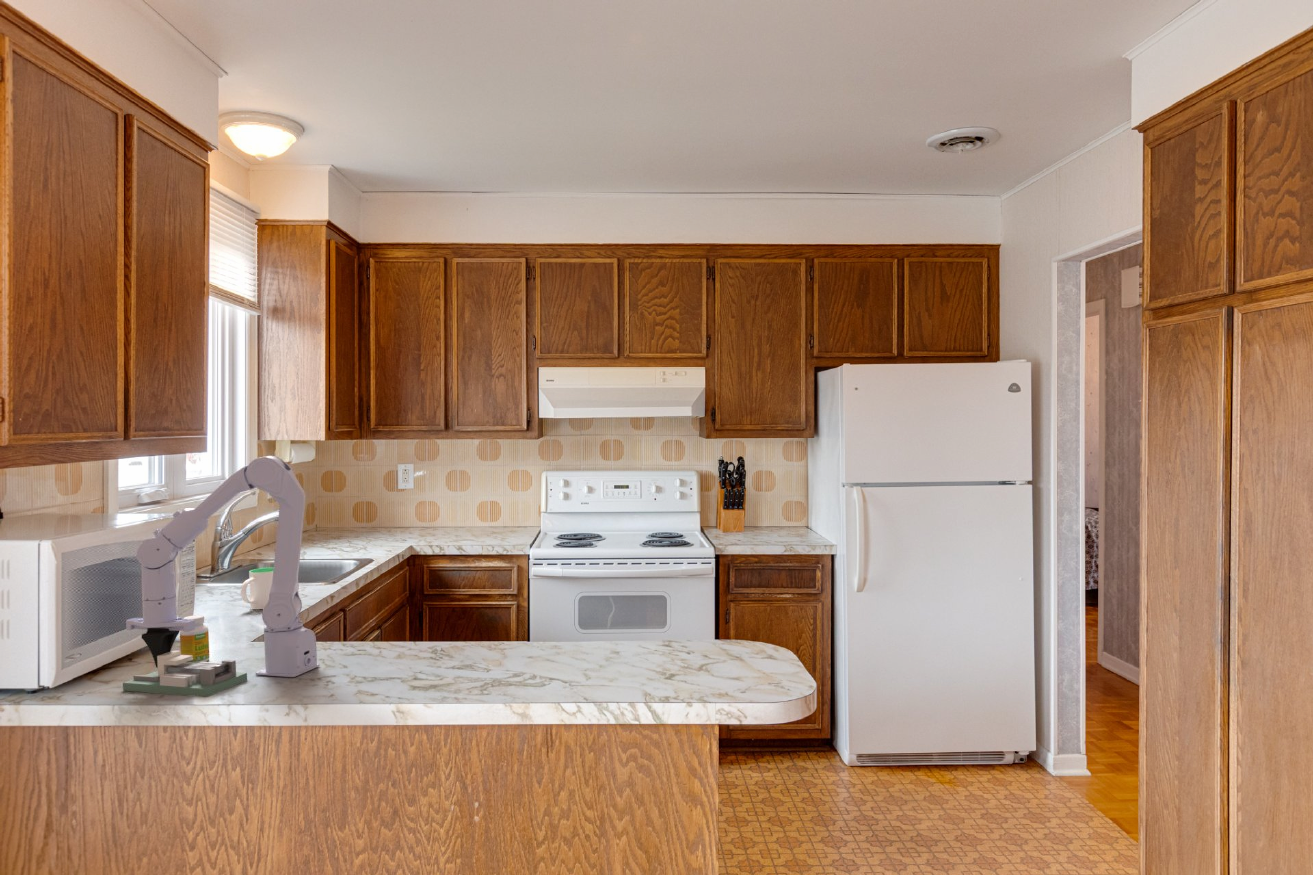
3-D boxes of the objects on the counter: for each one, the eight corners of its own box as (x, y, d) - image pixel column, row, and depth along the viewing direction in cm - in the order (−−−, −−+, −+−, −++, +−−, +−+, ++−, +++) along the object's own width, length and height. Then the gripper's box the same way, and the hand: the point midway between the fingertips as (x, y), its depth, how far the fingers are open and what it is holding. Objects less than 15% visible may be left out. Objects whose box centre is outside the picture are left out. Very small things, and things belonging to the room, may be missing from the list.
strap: (229, 671, 160) (229, 662, 160) (214, 677, 157) (214, 668, 157) (180, 669, 164) (180, 660, 163) (165, 674, 160) (165, 665, 160)
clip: (193, 674, 163) (192, 651, 163) (176, 680, 159) (175, 657, 159) (175, 672, 164) (174, 650, 164) (158, 679, 160) (157, 656, 160)
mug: (256, 613, 224) (255, 575, 224) (232, 612, 227) (231, 574, 226) (288, 604, 236) (286, 567, 236) (265, 603, 238) (263, 567, 238)
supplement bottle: (196, 665, 175) (195, 620, 174) (174, 665, 176) (173, 619, 176) (215, 658, 180) (213, 614, 180) (193, 658, 181) (192, 614, 181)
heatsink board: (247, 680, 163) (246, 657, 163) (206, 697, 153) (205, 673, 153) (167, 674, 169) (166, 652, 169) (123, 690, 159) (122, 667, 159)
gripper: (206, 594, 164) (208, 662, 165) (146, 592, 168) (148, 659, 168) (177, 602, 158) (180, 672, 158) (115, 600, 161) (118, 669, 161)
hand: (162, 666), depth 163 cm, fingers closed
